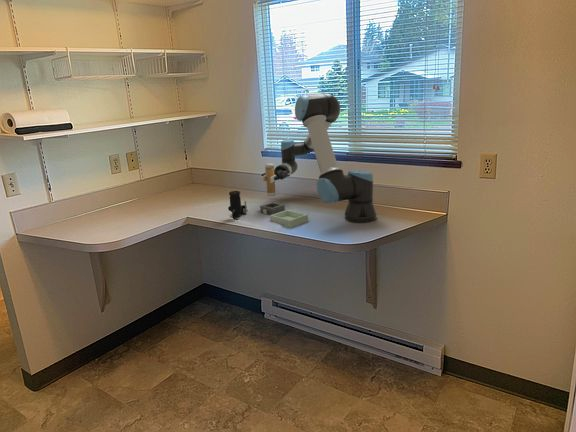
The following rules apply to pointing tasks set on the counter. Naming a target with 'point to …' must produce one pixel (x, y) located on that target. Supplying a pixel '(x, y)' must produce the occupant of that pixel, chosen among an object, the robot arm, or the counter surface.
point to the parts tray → (289, 218)
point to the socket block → (271, 208)
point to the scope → (236, 205)
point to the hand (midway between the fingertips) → (266, 179)
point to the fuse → (269, 173)
